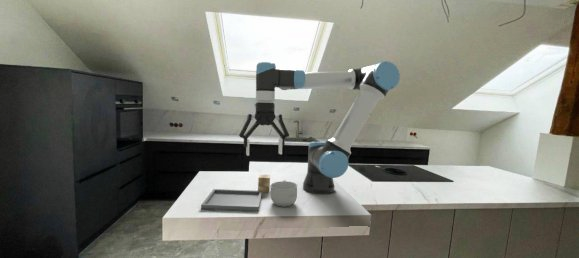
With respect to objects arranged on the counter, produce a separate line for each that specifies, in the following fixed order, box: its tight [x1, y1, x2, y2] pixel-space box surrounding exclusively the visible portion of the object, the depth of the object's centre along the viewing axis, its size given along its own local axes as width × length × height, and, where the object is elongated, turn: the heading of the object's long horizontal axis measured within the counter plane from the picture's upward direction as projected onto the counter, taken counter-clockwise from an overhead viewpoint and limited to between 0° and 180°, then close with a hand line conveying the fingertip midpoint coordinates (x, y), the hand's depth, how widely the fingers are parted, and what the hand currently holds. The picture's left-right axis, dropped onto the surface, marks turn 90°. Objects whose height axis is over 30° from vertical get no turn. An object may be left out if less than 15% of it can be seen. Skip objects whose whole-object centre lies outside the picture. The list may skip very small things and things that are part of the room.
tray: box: [200, 188, 263, 212], centre depth 105 cm, size 21×18×2 cm
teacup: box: [270, 179, 298, 208], centre depth 106 cm, size 14×11×8 cm
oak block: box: [257, 174, 271, 194], centre depth 119 cm, size 5×5×7 cm
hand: (264, 154), depth 107 cm, fingers open, 13 cm apart
